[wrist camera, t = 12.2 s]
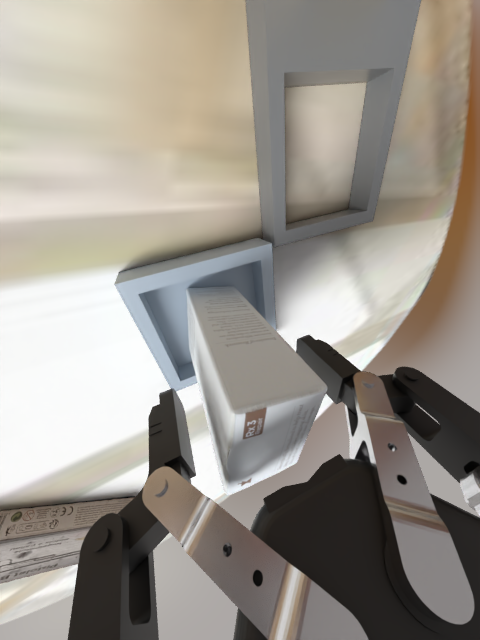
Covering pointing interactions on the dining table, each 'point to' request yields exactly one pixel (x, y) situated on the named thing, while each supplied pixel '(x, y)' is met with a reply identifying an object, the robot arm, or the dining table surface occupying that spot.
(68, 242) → the dining table surface
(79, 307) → the dining table surface
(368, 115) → the block
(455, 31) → the dining table surface
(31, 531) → the box
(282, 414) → the skincare box
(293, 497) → the robot arm
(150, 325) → the tray
